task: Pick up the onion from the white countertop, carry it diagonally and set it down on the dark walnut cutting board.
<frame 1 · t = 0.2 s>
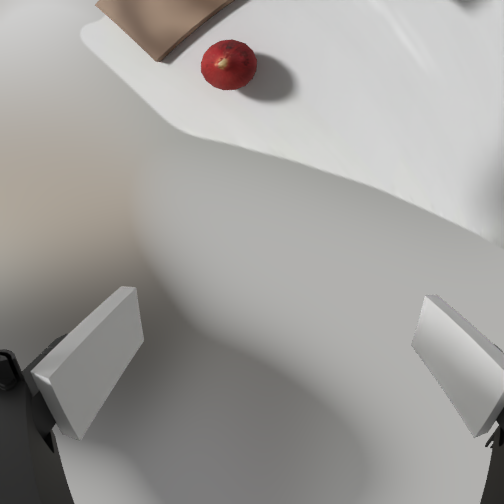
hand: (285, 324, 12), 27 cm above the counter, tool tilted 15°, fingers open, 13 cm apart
onion: (233, 66, 29), on the counter
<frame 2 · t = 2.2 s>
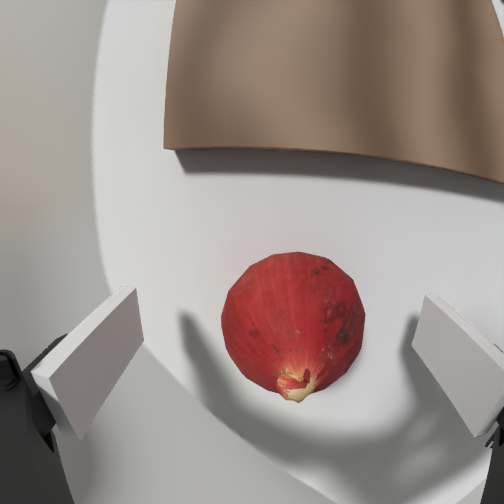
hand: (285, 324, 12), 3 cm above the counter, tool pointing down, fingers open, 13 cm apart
walnut board: (369, 36, 11), on the counter
onion: (288, 286, 15), on the counter
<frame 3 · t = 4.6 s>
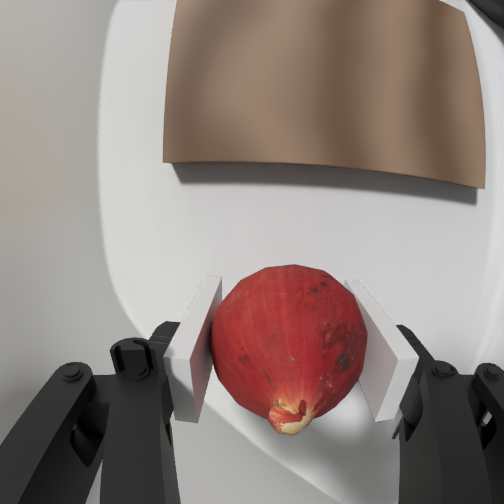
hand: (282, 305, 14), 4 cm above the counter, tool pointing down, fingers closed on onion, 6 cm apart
walnut board: (343, 58, 14), on the counter
onion: (283, 299, 14), point 3 cm above the counter, touching gripper
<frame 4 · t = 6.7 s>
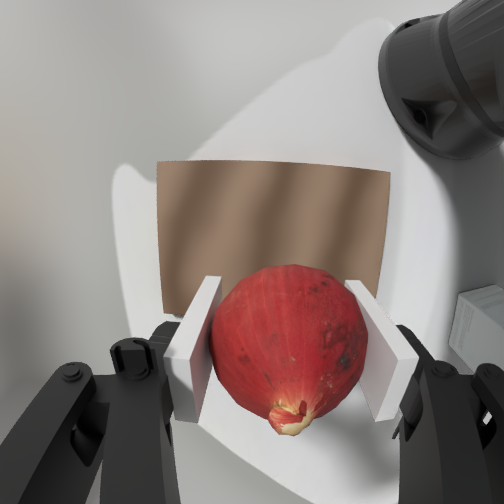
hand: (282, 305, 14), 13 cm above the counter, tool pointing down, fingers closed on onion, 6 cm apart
supplement box: (472, 313, 28), on the counter
walnut board: (272, 241, 26), on the counter
onion: (283, 299, 14), point 12 cm above the counter, touching gripper
when the fingers open (2 cm above the counter, at t = 9.3 s): onion stays where it is, resting on walnut board.
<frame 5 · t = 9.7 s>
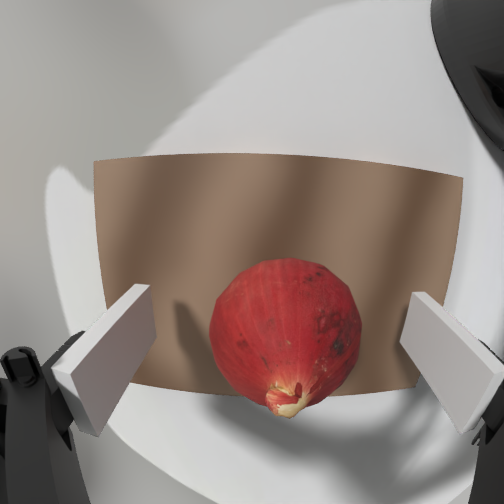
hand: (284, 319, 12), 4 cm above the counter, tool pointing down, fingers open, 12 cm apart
walnut board: (280, 286, 16), on the counter
onion: (281, 294, 15), point 1 cm above the counter, touching walnut board
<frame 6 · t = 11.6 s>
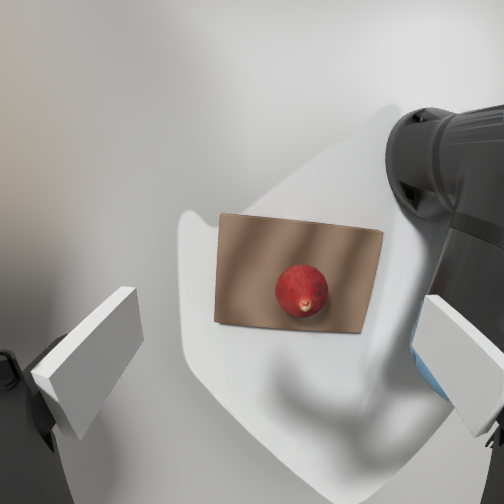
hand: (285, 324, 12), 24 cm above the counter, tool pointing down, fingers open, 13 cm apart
walnut board: (296, 275, 37), on the counter
onion: (298, 278, 35), point 1 cm above the counter, touching walnut board
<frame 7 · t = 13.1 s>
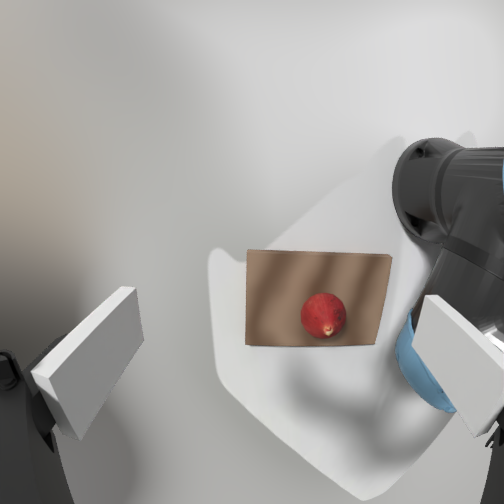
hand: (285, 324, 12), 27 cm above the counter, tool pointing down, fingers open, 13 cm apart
walnut board: (316, 299, 40), on the counter
onion: (318, 302, 39), point 1 cm above the counter, touching walnut board
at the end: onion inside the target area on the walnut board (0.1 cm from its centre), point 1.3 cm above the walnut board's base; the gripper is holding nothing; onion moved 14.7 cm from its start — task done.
